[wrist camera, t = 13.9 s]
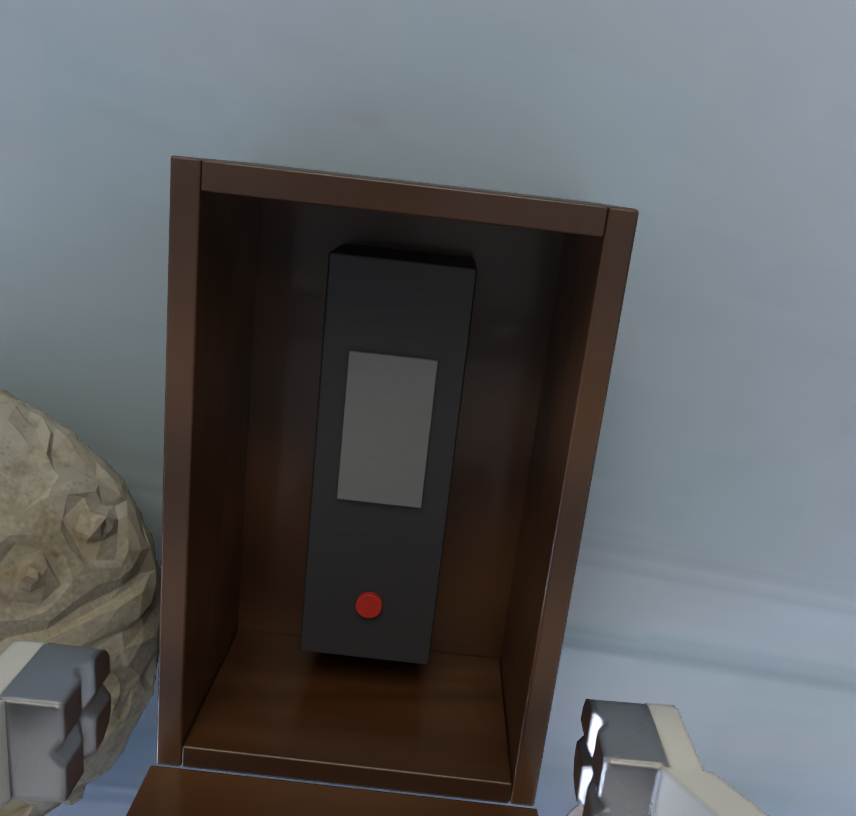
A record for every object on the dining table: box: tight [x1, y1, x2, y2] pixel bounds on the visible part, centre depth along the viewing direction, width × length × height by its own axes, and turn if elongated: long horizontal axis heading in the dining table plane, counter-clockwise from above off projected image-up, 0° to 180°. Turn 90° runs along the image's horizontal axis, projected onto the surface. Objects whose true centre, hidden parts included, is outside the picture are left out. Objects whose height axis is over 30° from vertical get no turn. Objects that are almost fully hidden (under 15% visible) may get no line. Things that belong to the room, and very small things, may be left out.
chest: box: [157, 156, 639, 806], centre depth 27 cm, size 19×12×8 cm, turn 174°
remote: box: [300, 243, 478, 665], centre depth 28 cm, size 14×5×4 cm, turn 174°
